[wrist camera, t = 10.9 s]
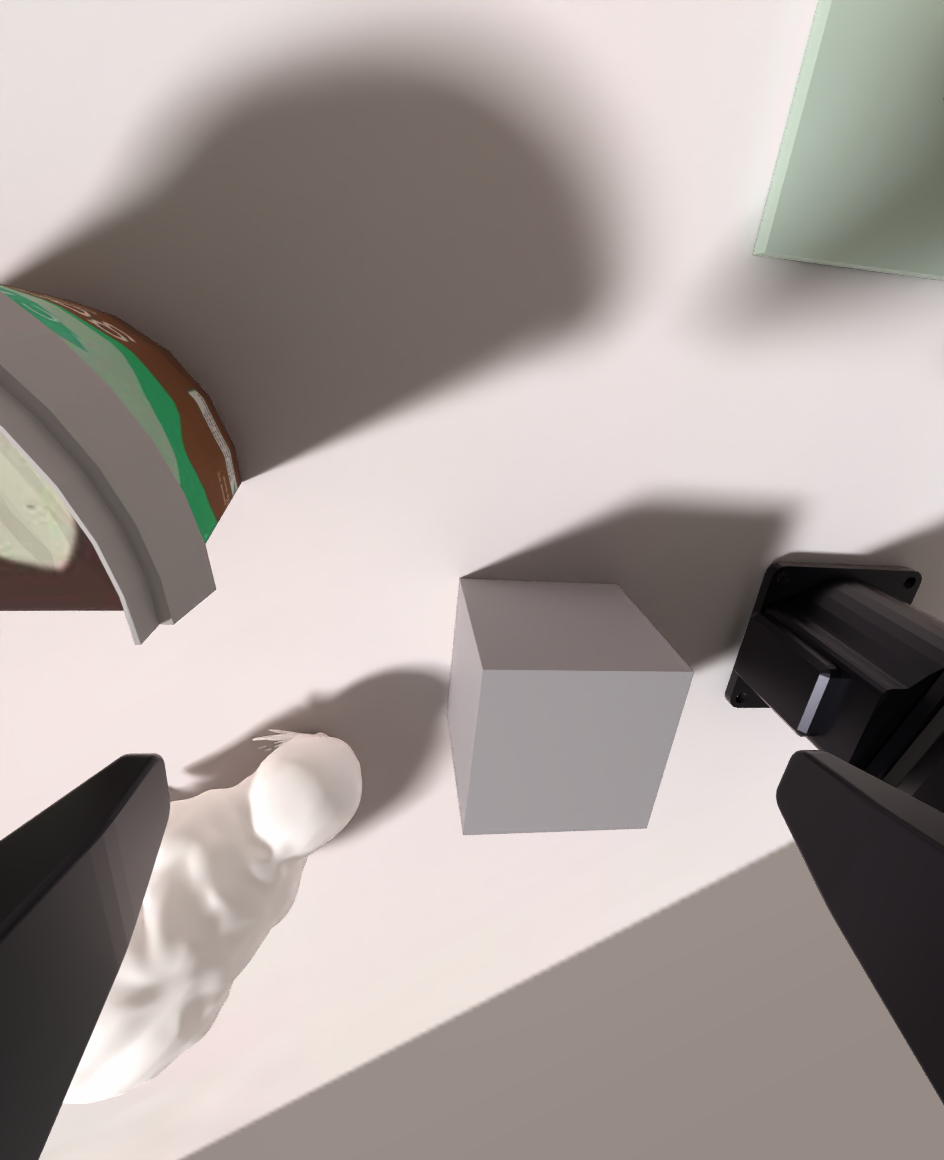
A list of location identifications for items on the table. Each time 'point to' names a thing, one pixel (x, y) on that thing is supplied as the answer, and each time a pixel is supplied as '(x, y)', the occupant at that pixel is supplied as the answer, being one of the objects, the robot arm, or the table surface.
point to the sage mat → (864, 143)
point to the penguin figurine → (215, 905)
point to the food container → (104, 467)
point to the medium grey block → (559, 707)
